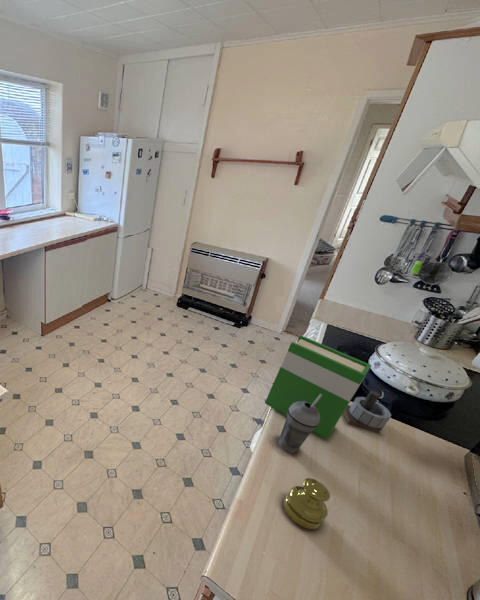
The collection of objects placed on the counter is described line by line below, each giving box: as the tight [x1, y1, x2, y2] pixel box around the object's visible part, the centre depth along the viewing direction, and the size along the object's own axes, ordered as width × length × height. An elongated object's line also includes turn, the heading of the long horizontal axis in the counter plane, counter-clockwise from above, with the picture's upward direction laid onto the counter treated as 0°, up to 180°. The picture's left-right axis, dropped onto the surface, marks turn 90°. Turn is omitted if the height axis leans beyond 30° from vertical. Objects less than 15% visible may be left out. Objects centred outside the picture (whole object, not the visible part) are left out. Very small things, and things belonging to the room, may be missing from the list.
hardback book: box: [264, 334, 372, 440], centre depth 96 cm, size 18×7×24 cm, turn 39°
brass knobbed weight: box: [283, 477, 331, 530], centre depth 72 cm, size 7×7×10 cm
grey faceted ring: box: [349, 396, 392, 429], centre depth 100 cm, size 9×9×4 cm
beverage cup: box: [278, 394, 322, 454], centre depth 86 cm, size 7×7×20 cm
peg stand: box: [342, 390, 381, 434], centre depth 99 cm, size 8×8×11 cm
